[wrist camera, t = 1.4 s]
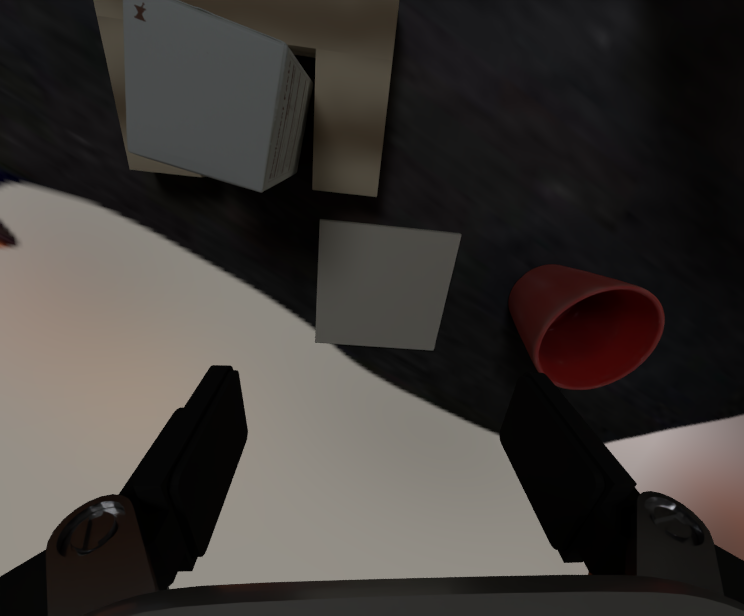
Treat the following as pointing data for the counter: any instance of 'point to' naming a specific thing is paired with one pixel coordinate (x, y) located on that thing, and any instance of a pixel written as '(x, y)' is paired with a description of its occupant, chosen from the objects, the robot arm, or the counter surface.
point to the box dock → (332, 77)
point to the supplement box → (212, 95)
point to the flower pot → (584, 325)
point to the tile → (382, 284)
